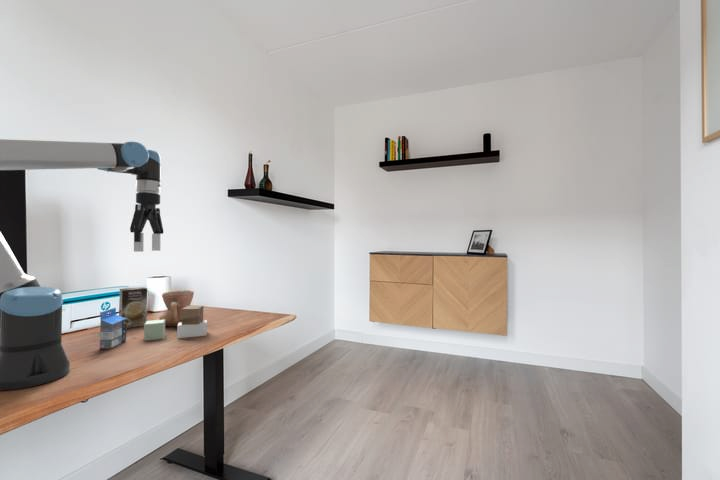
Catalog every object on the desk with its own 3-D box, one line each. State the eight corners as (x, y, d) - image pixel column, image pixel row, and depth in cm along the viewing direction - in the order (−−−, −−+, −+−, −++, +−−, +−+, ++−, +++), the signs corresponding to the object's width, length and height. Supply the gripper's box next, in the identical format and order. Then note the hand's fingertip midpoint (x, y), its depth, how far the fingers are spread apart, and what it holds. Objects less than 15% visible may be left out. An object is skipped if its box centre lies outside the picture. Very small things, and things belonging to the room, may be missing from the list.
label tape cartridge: (111, 349, 111) (112, 312, 112) (99, 349, 111) (99, 312, 111) (126, 341, 120) (127, 307, 120) (115, 341, 120) (115, 307, 120)
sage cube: (163, 338, 124) (163, 322, 124) (144, 340, 121) (144, 324, 121) (165, 334, 129) (165, 319, 129) (146, 336, 127) (147, 320, 127)
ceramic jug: (166, 320, 152) (165, 289, 152) (200, 318, 156) (200, 288, 155) (152, 331, 135) (151, 296, 134) (191, 329, 138) (190, 295, 138)
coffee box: (121, 329, 137) (121, 290, 137) (118, 326, 141) (118, 288, 141) (147, 325, 143) (147, 288, 143) (143, 322, 148) (143, 286, 148)
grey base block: (206, 335, 128) (206, 322, 128) (177, 338, 124) (177, 325, 124) (206, 332, 133) (206, 320, 133) (178, 335, 129) (178, 322, 129)
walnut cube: (198, 324, 126) (198, 308, 126) (181, 324, 125) (181, 308, 125) (203, 320, 132) (203, 305, 132) (187, 321, 131) (187, 305, 131)
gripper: (143, 187, 110) (142, 251, 110) (172, 198, 134) (172, 250, 134) (118, 187, 109) (117, 251, 108) (152, 197, 133) (152, 250, 133)
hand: (147, 251), depth 121 cm, fingers open, 13 cm apart
